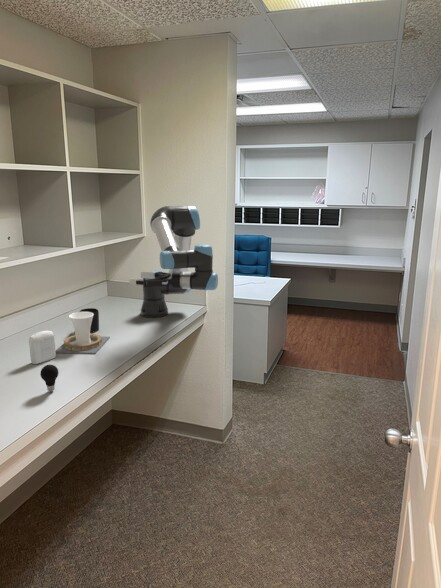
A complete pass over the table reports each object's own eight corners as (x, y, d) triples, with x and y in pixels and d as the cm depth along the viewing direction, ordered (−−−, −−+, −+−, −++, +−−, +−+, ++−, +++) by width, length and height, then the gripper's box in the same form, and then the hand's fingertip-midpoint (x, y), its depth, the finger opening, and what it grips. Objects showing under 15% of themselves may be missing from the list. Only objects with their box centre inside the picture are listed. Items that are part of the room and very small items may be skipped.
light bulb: (49, 386, 160) (47, 361, 157) (63, 389, 158) (61, 363, 156) (38, 394, 154) (35, 367, 152) (53, 396, 153) (50, 369, 150)
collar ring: (72, 337, 208) (72, 333, 208) (106, 338, 207) (106, 334, 207) (58, 349, 193) (58, 345, 192) (94, 350, 192) (94, 346, 191)
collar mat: (72, 336, 210) (72, 335, 210) (109, 337, 209) (109, 336, 209) (54, 352, 191) (54, 351, 191) (95, 354, 190) (95, 352, 190)
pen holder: (75, 331, 218) (74, 312, 215) (89, 326, 226) (88, 307, 223) (90, 334, 213) (88, 314, 211) (103, 329, 222) (102, 309, 219)
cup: (89, 348, 194) (87, 319, 191) (66, 347, 196) (64, 317, 192) (99, 340, 204) (97, 312, 201) (78, 338, 206) (75, 310, 202)
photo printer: (51, 355, 188) (49, 327, 185) (57, 357, 186) (55, 329, 183) (29, 363, 180) (26, 334, 177) (35, 365, 178) (32, 336, 175)
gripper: (174, 295, 182) (125, 293, 185) (189, 282, 205) (145, 280, 209) (173, 277, 180) (124, 275, 184) (189, 266, 204) (144, 264, 207)
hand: (135, 278), depth 196 cm, fingers open, 13 cm apart
